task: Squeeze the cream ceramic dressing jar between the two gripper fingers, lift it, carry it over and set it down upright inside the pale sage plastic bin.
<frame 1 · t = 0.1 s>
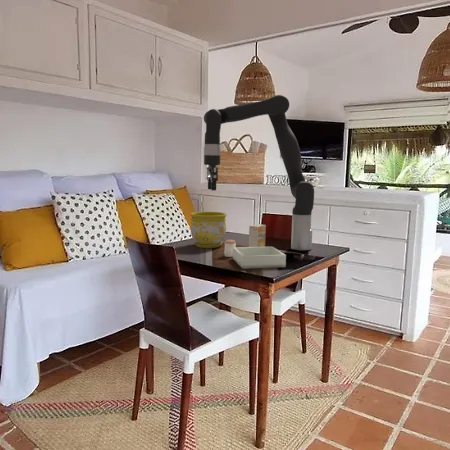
hand: (211, 189, 198), 29 cm above the table, fingers open, 8 cm apart
supplement box: (256, 253, 201), on the table
bin: (258, 262, 180), on the table
flowerpot: (208, 246, 216), on the table
dressing jar: (230, 255, 193), on the table
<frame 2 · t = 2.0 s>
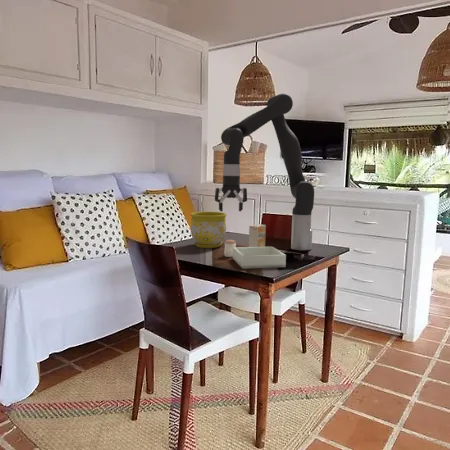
hand: (230, 211, 190), 20 cm above the table, fingers open, 8 cm apart
nothing on the table moved.
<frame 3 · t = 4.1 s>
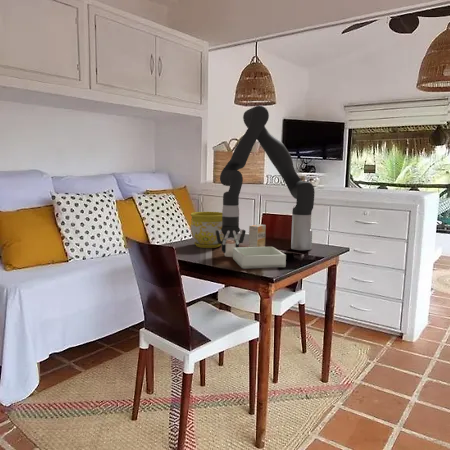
hand: (230, 252, 193), 2 cm above the table, fingers closed on dressing jar, 5 cm apart
dressing jar: (230, 255, 193), on the table, touching gripper
everything else where it was.
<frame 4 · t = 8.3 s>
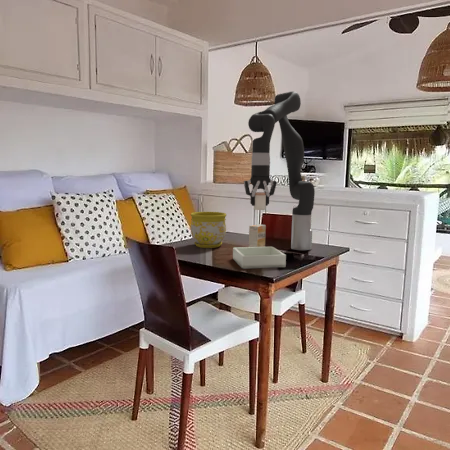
hand: (259, 205, 177), 24 cm above the table, fingers closed on dressing jar, 5 cm apart
dressing jar: (259, 209, 177), point 23 cm above the table, touching gripper
everything else where it was.
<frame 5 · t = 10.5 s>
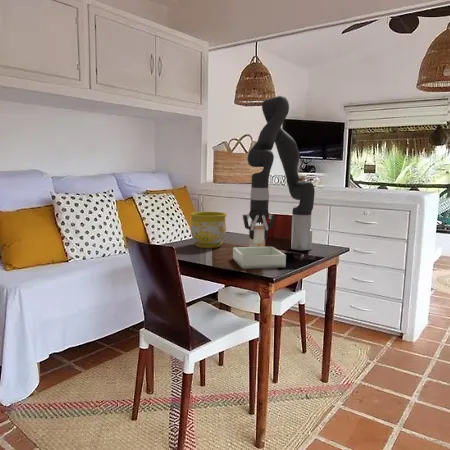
hand: (258, 238, 179), 10 cm above the table, fingers closed on dressing jar, 5 cm apart
dressing jar: (258, 242, 179), point 9 cm above the table, touching gripper
everything else where it was.
when the fingers open (4 cm above the table, at t = 12.3 s): dressing jar drops 2 cm, resting on bin.
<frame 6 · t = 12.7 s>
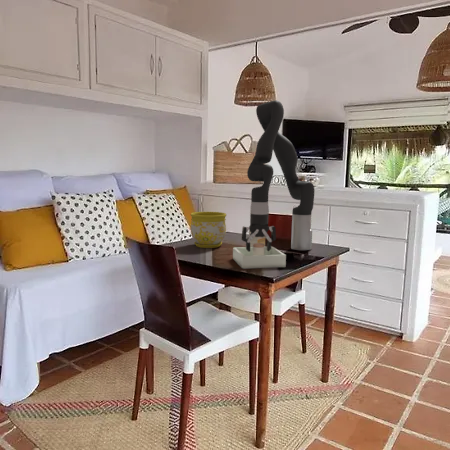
hand: (258, 250, 180), 5 cm above the table, fingers open, 8 cm apart
dressing jar: (258, 260, 180), point 1 cm above the table, touching bin
everything else where it was.
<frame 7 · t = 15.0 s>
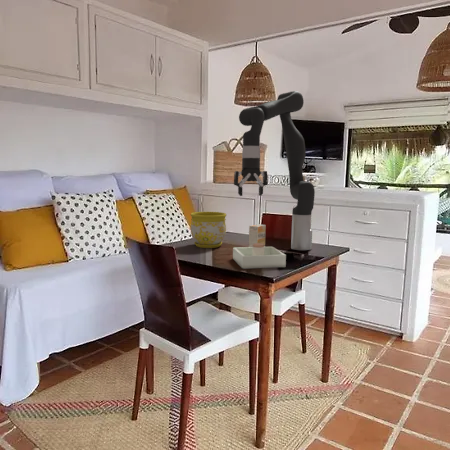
hand: (250, 195, 181), 28 cm above the table, fingers open, 8 cm apart
nothing on the table moved.
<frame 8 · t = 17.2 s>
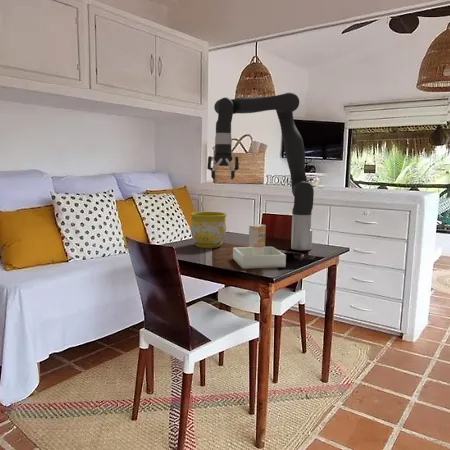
hand: (222, 179, 197), 34 cm above the table, fingers open, 8 cm apart
nothing on the table moved.
at the end: dressing jar inside the target area on the bin (0.0 cm from its centre), point 1.0 cm above the bin's base; dressing jar tilted 1°; the gripper is holding nothing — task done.
